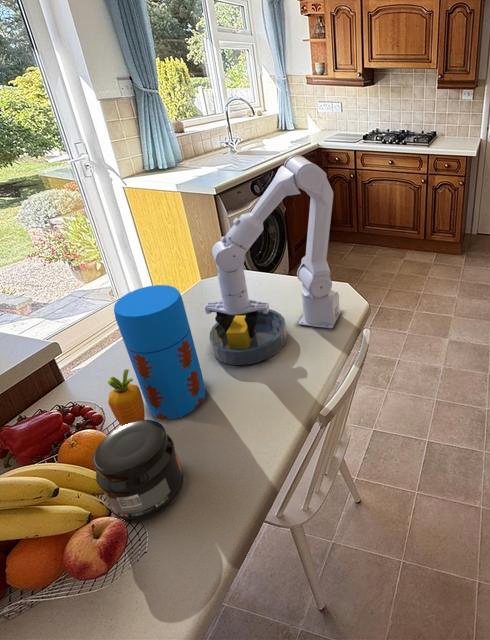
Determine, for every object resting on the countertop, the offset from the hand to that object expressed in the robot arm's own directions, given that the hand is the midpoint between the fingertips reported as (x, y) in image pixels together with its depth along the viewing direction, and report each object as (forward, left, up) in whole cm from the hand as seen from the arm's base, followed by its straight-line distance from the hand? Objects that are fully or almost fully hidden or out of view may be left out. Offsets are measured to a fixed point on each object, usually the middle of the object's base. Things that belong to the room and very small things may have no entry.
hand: (242, 335), depth 101 cm
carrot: (+6, +29, -2) cm, 30 cm away
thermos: (+4, +20, -2) cm, 21 cm away
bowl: (-2, 0, -2) cm, 3 cm away
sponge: (0, 0, -1) cm, 1 cm away
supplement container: (-4, +39, -2) cm, 39 cm away
